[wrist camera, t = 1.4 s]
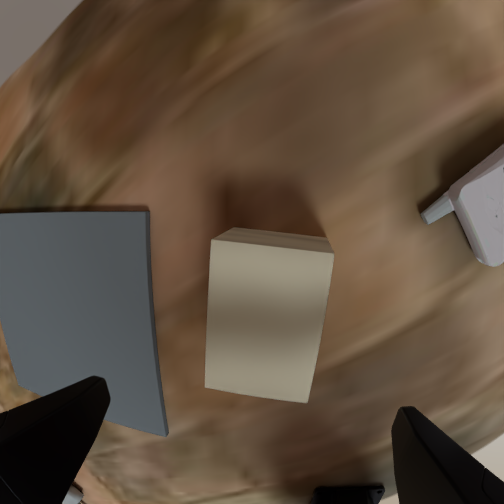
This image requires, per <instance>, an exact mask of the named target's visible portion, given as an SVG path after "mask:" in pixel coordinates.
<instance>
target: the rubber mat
mask: <svg viewBox="0 0 504 504" xmlns="http://www.w3.org/2000/svg"><path fill="white" fill-rule="evenodd" d="M0 320H1V324H2V328H3V332H4V336H5V340H6V344H7V348H8V352H9V355H10V359H11V362H12V365H13V369H14V372H15V375H16V378H17V381H18V384H19V386H21V387H23V388H25V389H28V390H30V391H32V392H34V393H36V394H39V395H41V396H45V395H48V394H50V393H53V392H55V391H57V390H60V389H62V388H64V387H67V386H69V385H72V384H74V383H76V382H79V381H81V380H83V379H85V378H88V377H90V376H93V375H95V376H99V377H103V378H104V379H105V380H106V382H107V386H108V390H109V393H110V397H111V401H110V405H109V407H108V410H107V412H106V415H105V417H104V420H107V421H110V422H113V423H116V424H120V425H123V426H126V427H130V428H133V429H137V430H140V431H144V432H148V433H152V434H156V435H160V436H164V437H167V435H168V433H169V432H168V426H167V419H166V413H165V406H164V400H163V392H162V385H161V377H160V369H159V360H158V351H157V342H156V331H155V320H154V307H153V292H152V275H151V252H150V211H76V212H27V213H0Z"/></svg>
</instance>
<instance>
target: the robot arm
mask: <svg viewBox="0 0 504 504" xmlns="http://www.w3.org/2000/svg"><path fill="white" fill-rule="evenodd" d="M110 401H111V397H110V393H109V390H108V386H107V382H106V380H105V379H104V378H103V377H99V376H95V375H93V376H90V377H88V378H85V379H83V380H81V381H79V382H76V383H74V384H72V385H69V386H67V387H64V388H62V389H60V390H57V391H55V392H53V393H50V394H48V395H45V396H43V397H40V398H38V399H36V400H33V401H31V402H28V403H26V404H23V405H21V406H18V407H16V408H13V409H11V410H9V411H5V412H3V413H0V504H62V503H63V501H64V499H65V497H66V495H67V493H68V491H69V489H70V487H71V485H72V483H73V481H74V479H75V477H76V475H77V473H78V471H79V470H80V468H81V466H82V464H83V462H84V460H85V458H86V456H87V454H88V453H89V451H90V449H91V447H92V445H93V443H94V441H95V439H96V437H97V435H98V432H99V430H100V427H101V425H102V422H103V420H104V417H105V415H106V412H107V410H108V407H109V405H110ZM391 434H392V446H393V460H394V474H395V481H396V486H397V492H398V498H399V504H504V482H503V481H502V480H500V479H499V478H498V477H497V476H495V475H494V474H493V473H492V472H490V471H489V470H488V469H487V468H485V467H484V466H483V465H482V464H481V463H479V462H478V461H477V460H476V459H475V458H474V457H472V456H471V455H470V454H469V453H468V452H467V451H465V450H464V449H463V448H462V447H461V446H459V445H458V444H457V443H456V442H455V441H454V440H452V439H451V438H450V437H449V436H448V435H446V434H445V433H444V432H443V431H442V430H441V429H439V428H438V427H437V426H436V425H435V424H434V423H432V422H431V421H430V420H429V419H428V418H426V417H425V416H424V415H423V414H422V413H421V412H419V411H418V410H417V409H416V408H415V407H413V406H404V407H400V408H399V410H398V412H397V415H396V417H395V420H394V423H393V425H392V430H391ZM484 468H485V469H484ZM384 492H385V488H384V486H371V487H343V488H325V487H320V488H316V489H315V490H314V493H313V497H312V500H311V504H378V503H379V502H380V500H381V498H382V496H383V494H384Z"/></svg>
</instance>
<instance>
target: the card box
mask: <svg viewBox="0 0 504 504" xmlns="http://www.w3.org/2000/svg"><path fill="white" fill-rule="evenodd" d="M333 261H334V252H333V249H332V247H331V245H330V243H329V241H328V239H327V238H326V237H317V236H309V235H300V234H291V233H283V232H274V231H265V230H256V229H246V228H237V227H233V228H232V229H230V230H228V231H226V232H224V233H222V234H221V235H219V236H217V237H215V238H213V239H211V253H210V270H209V288H208V308H207V332H206V361H205V388H210V389H216V390H221V391H226V392H232V393H237V394H243V395H249V396H256V397H262V398H269V399H276V400H284V401H292V402H301V403H307V402H308V398H309V394H310V389H311V384H312V380H313V375H314V370H315V365H316V360H317V355H318V350H319V345H320V340H321V335H322V329H323V324H324V318H325V312H326V306H327V300H328V294H329V288H330V281H331V275H332V268H333Z"/></svg>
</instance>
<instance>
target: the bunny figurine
mask: <svg viewBox="0 0 504 504" xmlns="http://www.w3.org/2000/svg"><path fill="white" fill-rule="evenodd" d="M83 496H84V495H83V494H82V493H81V492H80V491H78V490H77V489H76V488H75V487H74V486H73V485H71V487H70V489H69V491H68V493H67V495H66V497H65V499H64V501H63V503H62V504H81V503H80V501H81V499H82V498H83Z"/></svg>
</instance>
